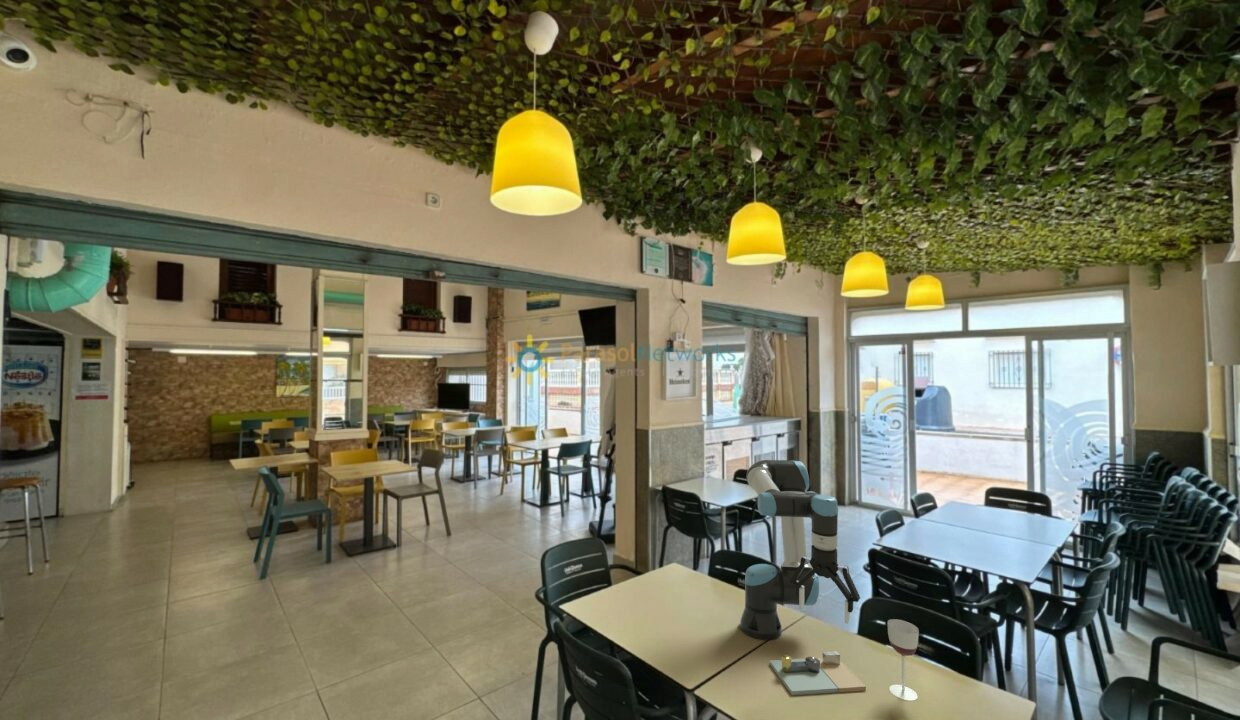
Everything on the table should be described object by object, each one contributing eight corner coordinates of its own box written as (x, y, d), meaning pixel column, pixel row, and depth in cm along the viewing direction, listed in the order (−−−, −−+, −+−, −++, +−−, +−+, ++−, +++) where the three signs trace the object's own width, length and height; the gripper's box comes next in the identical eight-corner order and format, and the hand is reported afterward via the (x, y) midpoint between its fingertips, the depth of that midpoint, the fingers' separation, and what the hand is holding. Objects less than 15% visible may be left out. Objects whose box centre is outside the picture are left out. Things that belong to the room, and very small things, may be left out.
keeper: (822, 661, 164) (822, 652, 164) (836, 660, 164) (836, 651, 165) (825, 665, 162) (825, 655, 162) (840, 664, 162) (840, 654, 163)
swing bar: (815, 664, 162) (815, 651, 162) (822, 672, 158) (822, 659, 158) (779, 666, 161) (779, 653, 161) (785, 674, 156) (785, 661, 156)
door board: (769, 664, 164) (769, 660, 164) (837, 660, 167) (837, 656, 167) (791, 695, 148) (791, 691, 148) (865, 690, 151) (865, 686, 151)
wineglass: (904, 703, 145) (904, 635, 146) (881, 685, 153) (881, 621, 154) (925, 699, 147) (925, 631, 148) (902, 681, 156) (901, 617, 156)
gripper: (780, 540, 158) (780, 606, 158) (865, 560, 142) (864, 633, 142) (788, 534, 164) (788, 597, 163) (870, 552, 148) (870, 622, 148)
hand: (823, 614), depth 153 cm, fingers open, 13 cm apart
